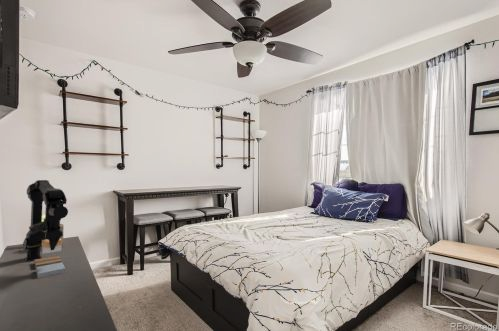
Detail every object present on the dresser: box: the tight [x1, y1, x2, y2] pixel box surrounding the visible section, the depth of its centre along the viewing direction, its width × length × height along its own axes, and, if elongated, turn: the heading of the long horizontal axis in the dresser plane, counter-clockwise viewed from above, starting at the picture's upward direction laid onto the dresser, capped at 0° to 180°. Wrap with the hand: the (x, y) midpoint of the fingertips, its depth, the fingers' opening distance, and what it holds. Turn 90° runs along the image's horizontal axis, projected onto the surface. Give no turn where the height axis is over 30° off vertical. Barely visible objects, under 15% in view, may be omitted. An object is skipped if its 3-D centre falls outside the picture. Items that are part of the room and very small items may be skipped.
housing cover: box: [41, 238, 62, 249], centre depth 120 cm, size 7×6×2 cm
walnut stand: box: [34, 255, 62, 269], centre depth 129 cm, size 10×10×2 cm
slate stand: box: [35, 261, 66, 279], centre depth 120 cm, size 10×10×2 cm
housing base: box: [41, 245, 63, 255], centre depth 120 cm, size 7×6×2 cm
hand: (51, 248), depth 120 cm, fingers closed on housing base, housing cover, 5 cm apart
